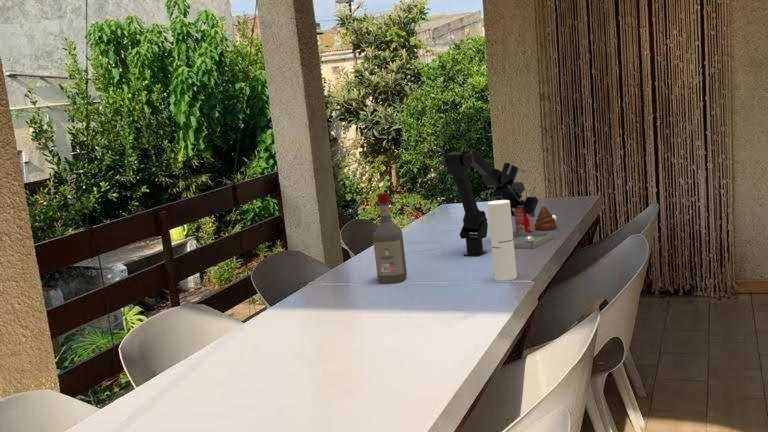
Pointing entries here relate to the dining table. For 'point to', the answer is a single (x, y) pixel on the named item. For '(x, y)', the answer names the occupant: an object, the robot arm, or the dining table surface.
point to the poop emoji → (545, 220)
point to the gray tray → (538, 237)
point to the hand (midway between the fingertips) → (524, 215)
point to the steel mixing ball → (529, 239)
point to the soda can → (523, 221)
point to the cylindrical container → (502, 240)
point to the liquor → (388, 246)
